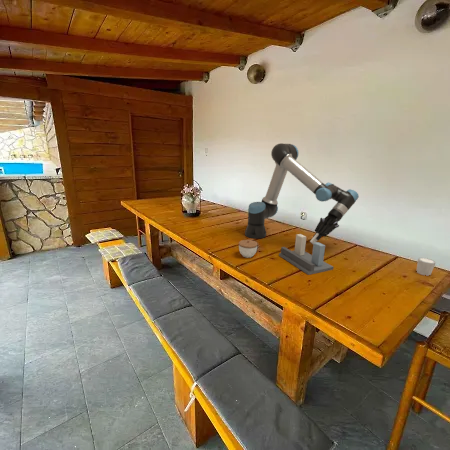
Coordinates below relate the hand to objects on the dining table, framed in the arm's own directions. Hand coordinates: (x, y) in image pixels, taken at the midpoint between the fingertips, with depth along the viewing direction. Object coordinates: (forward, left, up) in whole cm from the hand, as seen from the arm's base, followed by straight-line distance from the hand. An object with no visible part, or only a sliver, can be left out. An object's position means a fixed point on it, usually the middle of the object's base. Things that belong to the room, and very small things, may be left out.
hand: (311, 243), depth 140 cm
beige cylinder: (+39, +38, -8) cm, 55 cm away
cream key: (0, -8, -6) cm, 10 cm away
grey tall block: (+14, -8, -6) cm, 17 cm away
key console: (+7, -10, -7) cm, 14 cm away
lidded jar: (-12, -35, -8) cm, 38 cm away
